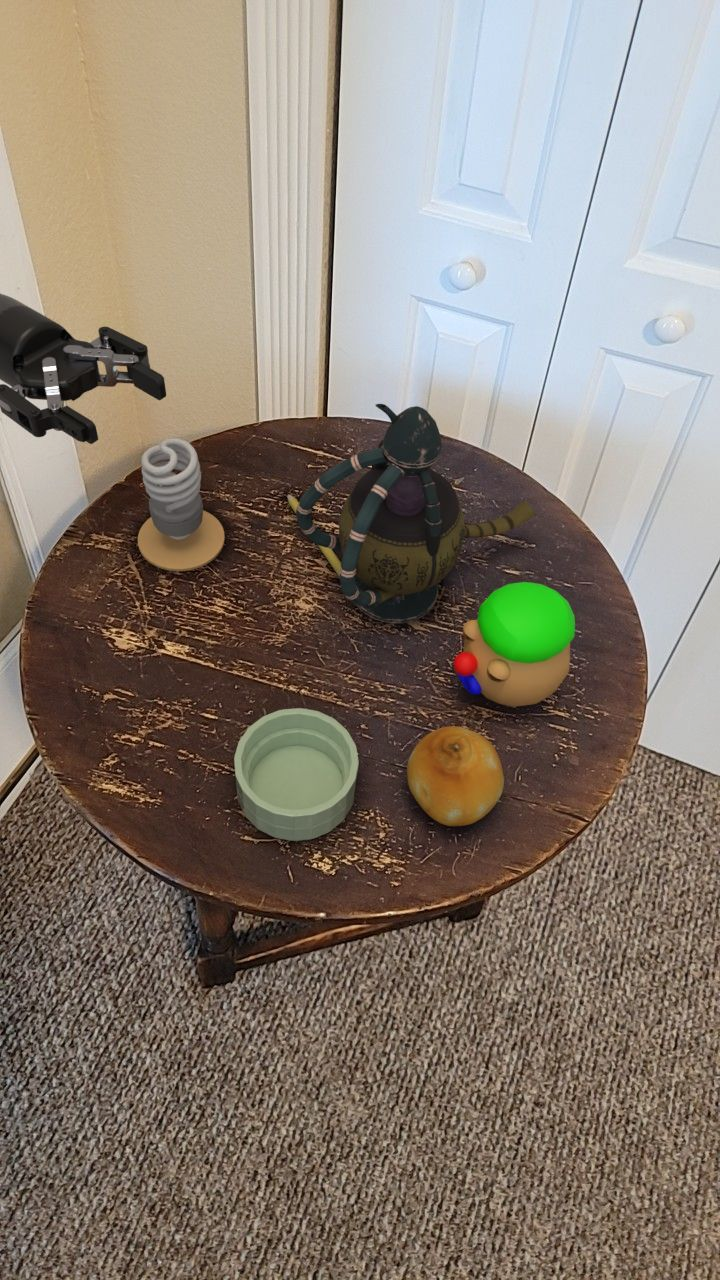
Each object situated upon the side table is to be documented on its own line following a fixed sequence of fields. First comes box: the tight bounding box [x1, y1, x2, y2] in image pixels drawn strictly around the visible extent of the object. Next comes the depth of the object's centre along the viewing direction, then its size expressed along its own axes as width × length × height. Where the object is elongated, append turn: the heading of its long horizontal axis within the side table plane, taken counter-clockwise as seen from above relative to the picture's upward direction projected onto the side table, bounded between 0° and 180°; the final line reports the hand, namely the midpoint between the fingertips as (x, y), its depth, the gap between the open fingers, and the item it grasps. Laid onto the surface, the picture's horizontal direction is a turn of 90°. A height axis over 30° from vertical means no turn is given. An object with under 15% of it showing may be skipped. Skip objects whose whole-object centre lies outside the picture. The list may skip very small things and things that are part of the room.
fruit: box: [406, 725, 505, 827], centre depth 79 cm, size 8×8×8 cm
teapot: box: [295, 403, 538, 624], centre depth 87 cm, size 12×25×23 cm, turn 118°
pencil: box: [285, 491, 341, 578], centre depth 99 cm, size 1×14×1 cm, turn 28°
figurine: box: [453, 581, 576, 708], centre depth 84 cm, size 11×10×12 cm
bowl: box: [233, 707, 360, 842], centre depth 79 cm, size 10×10×5 cm
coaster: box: [137, 509, 226, 572], centre depth 98 cm, size 9×9×1 cm
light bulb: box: [140, 437, 204, 540], centre depth 93 cm, size 6×6×12 cm
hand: (129, 411), depth 85 cm, fingers open, 8 cm apart
